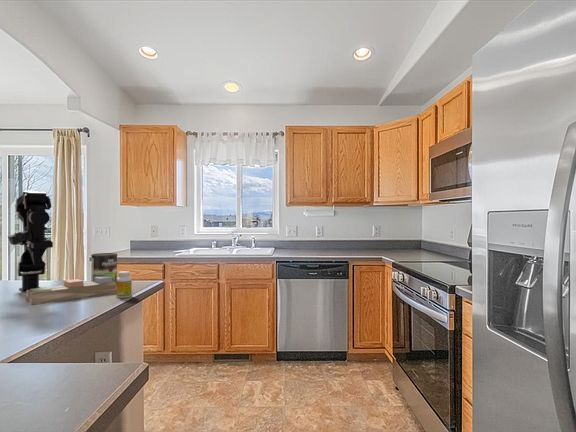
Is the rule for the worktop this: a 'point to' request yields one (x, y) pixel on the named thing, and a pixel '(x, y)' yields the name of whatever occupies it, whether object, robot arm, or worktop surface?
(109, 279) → the slate key
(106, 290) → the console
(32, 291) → the sage key
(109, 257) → the coffee can
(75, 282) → the terracotta key
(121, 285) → the supplement bottle
